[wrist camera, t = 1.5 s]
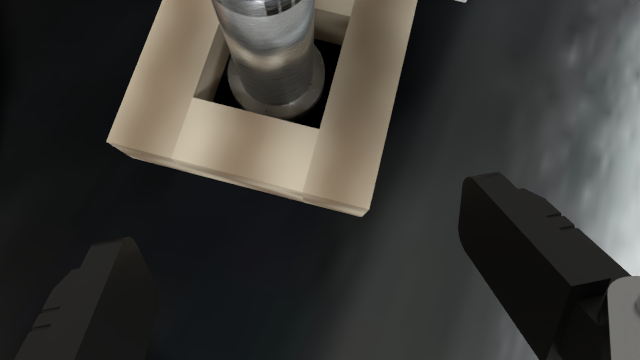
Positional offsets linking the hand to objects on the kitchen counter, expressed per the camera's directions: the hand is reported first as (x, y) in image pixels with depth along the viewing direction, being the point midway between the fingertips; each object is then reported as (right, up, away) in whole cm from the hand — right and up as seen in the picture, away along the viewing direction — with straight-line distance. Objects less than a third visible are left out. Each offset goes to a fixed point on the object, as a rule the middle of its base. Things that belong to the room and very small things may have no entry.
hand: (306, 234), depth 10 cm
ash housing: (-3, +8, +19) cm, 20 cm away
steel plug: (-3, +8, +19) cm, 20 cm away
